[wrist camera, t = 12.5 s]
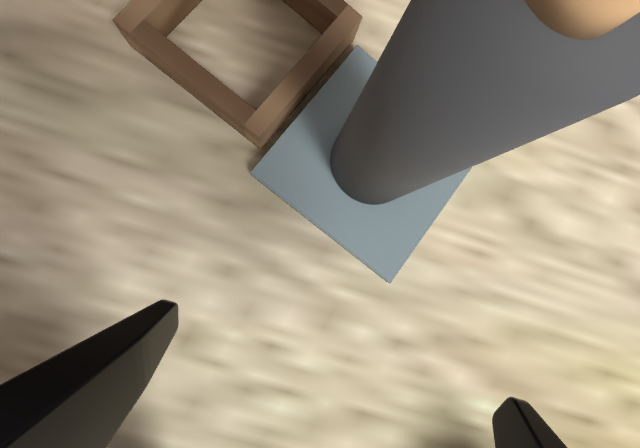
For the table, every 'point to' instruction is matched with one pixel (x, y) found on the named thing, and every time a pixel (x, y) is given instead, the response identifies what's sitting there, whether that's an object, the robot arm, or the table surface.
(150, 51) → the brown square frame
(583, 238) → the table surface
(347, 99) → the mat
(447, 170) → the grey jar with lid
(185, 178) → the table surface
